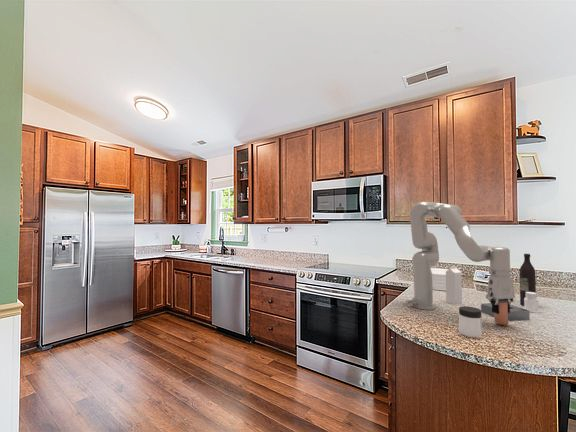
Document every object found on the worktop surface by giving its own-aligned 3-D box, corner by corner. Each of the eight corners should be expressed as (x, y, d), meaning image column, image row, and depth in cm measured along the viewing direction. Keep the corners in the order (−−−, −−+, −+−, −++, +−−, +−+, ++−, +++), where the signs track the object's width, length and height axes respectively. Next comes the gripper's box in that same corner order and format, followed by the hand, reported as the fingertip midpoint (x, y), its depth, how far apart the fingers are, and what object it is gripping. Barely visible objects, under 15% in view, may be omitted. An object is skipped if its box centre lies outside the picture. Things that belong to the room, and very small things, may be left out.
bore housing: (504, 322, 137) (504, 311, 137) (481, 312, 151) (481, 303, 151) (529, 320, 139) (529, 310, 139) (504, 311, 153) (504, 302, 153)
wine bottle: (519, 302, 169) (518, 252, 169) (535, 304, 165) (534, 253, 165) (520, 305, 163) (519, 254, 164) (537, 307, 159) (535, 254, 160)
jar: (461, 331, 126) (460, 304, 126) (482, 336, 121) (482, 308, 121) (457, 337, 119) (457, 309, 119) (480, 343, 114) (480, 313, 114)
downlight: (540, 314, 148) (539, 295, 148) (522, 311, 153) (522, 293, 153) (539, 310, 154) (539, 292, 154) (523, 308, 159) (522, 290, 159)
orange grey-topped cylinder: (501, 325, 128) (500, 301, 128) (491, 321, 133) (491, 298, 133) (510, 324, 129) (510, 301, 129) (501, 320, 134) (500, 298, 134)
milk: (462, 303, 168) (461, 266, 168) (455, 304, 166) (454, 267, 166) (452, 301, 174) (452, 265, 174) (445, 302, 171) (445, 266, 171)
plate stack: (467, 287, 210) (467, 271, 210) (448, 292, 194) (448, 276, 194) (431, 280, 233) (430, 266, 233) (411, 285, 217) (411, 270, 218)
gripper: (490, 275, 127) (491, 316, 126) (523, 274, 129) (524, 314, 129) (477, 272, 134) (478, 310, 134) (508, 271, 136) (509, 309, 136)
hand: (500, 312), depth 131 cm, fingers closed on orange grey-topped cylinder, 5 cm apart
